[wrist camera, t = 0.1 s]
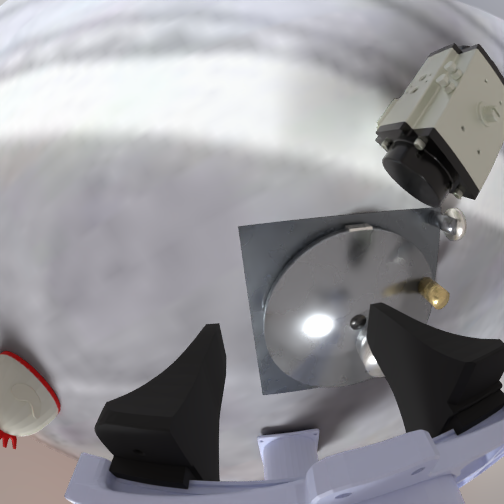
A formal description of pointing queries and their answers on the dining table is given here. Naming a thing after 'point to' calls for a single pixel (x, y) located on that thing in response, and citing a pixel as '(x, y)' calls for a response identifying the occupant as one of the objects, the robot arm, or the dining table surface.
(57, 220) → the dining table surface
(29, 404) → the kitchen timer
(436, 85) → the pneumatic valve
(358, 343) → the cover
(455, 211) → the silver oval knob
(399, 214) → the base plate
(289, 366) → the turntable
